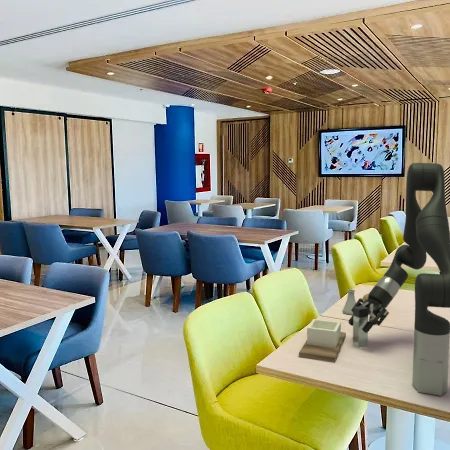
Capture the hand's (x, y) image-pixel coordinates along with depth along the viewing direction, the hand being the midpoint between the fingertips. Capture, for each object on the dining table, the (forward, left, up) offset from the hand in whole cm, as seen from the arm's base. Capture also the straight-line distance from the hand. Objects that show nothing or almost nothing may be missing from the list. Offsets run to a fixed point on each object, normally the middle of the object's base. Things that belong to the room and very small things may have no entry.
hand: (357, 327), depth 159 cm
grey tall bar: (+1, -1, -7) cm, 7 cm away
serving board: (-4, +11, -7) cm, 14 cm away
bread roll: (+49, -1, -7) cm, 50 cm away
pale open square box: (-3, +11, -5) cm, 13 cm away
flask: (+37, +7, -7) cm, 38 cm away
